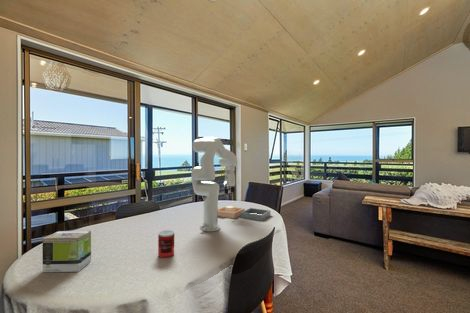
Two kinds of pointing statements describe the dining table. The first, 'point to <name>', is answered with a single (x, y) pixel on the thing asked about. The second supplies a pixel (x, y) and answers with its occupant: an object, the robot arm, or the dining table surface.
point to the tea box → (66, 251)
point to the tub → (229, 214)
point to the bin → (247, 214)
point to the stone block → (230, 209)
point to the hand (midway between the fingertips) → (229, 193)
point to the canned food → (166, 243)
